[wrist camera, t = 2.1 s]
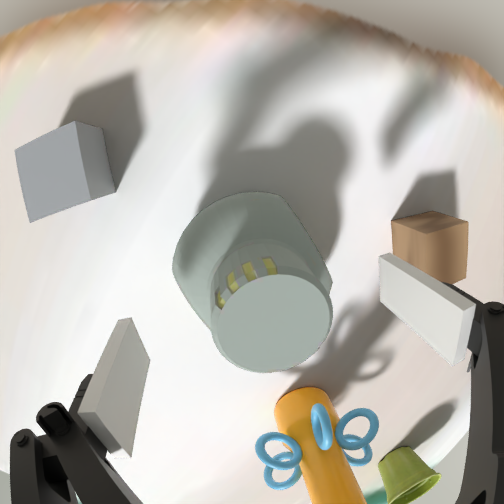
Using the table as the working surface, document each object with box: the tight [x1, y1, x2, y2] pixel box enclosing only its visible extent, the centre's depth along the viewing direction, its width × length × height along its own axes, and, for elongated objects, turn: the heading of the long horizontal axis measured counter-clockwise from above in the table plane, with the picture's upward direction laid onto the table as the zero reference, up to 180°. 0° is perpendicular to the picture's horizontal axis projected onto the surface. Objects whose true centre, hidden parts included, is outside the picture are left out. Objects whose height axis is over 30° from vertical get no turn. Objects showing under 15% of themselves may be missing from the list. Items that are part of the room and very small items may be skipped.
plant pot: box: [378, 446, 441, 504], centre depth 32 cm, size 9×9×9 cm
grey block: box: [15, 121, 116, 223], centre depth 17 cm, size 5×5×5 cm
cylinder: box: [255, 387, 379, 504], centre depth 21 cm, size 12×10×15 cm
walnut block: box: [391, 211, 468, 284], centre depth 22 cm, size 5×5×5 cm
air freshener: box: [172, 192, 333, 373], centre depth 18 cm, size 11×8×10 cm
